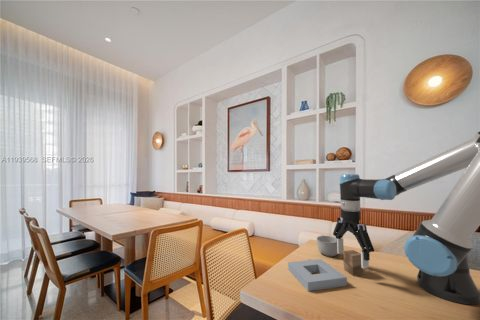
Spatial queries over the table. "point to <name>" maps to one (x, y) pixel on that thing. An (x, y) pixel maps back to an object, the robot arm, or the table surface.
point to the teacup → (327, 245)
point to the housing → (316, 281)
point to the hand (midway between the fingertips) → (351, 260)
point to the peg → (352, 262)
